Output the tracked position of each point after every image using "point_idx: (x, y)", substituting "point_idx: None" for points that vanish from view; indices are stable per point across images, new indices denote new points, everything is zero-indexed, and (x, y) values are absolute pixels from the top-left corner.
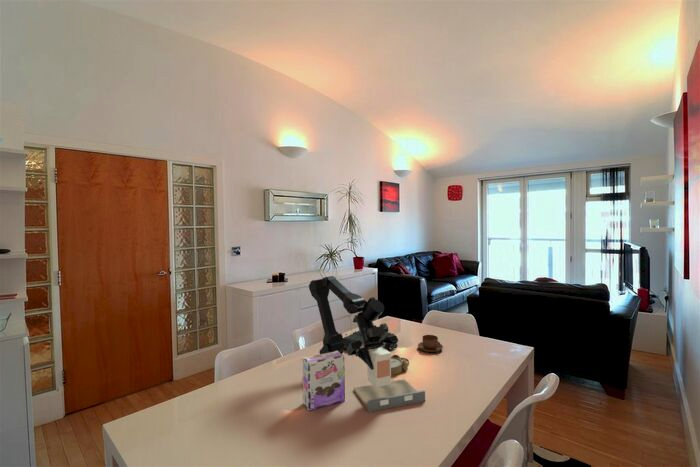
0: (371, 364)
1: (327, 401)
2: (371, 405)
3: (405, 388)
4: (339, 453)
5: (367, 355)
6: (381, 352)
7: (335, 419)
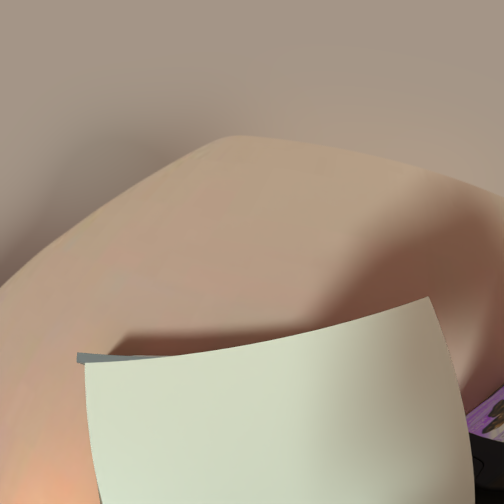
0: None
1: (488, 403)
2: None
3: None
4: (428, 185)
5: (483, 454)
6: (263, 457)
7: (459, 318)
